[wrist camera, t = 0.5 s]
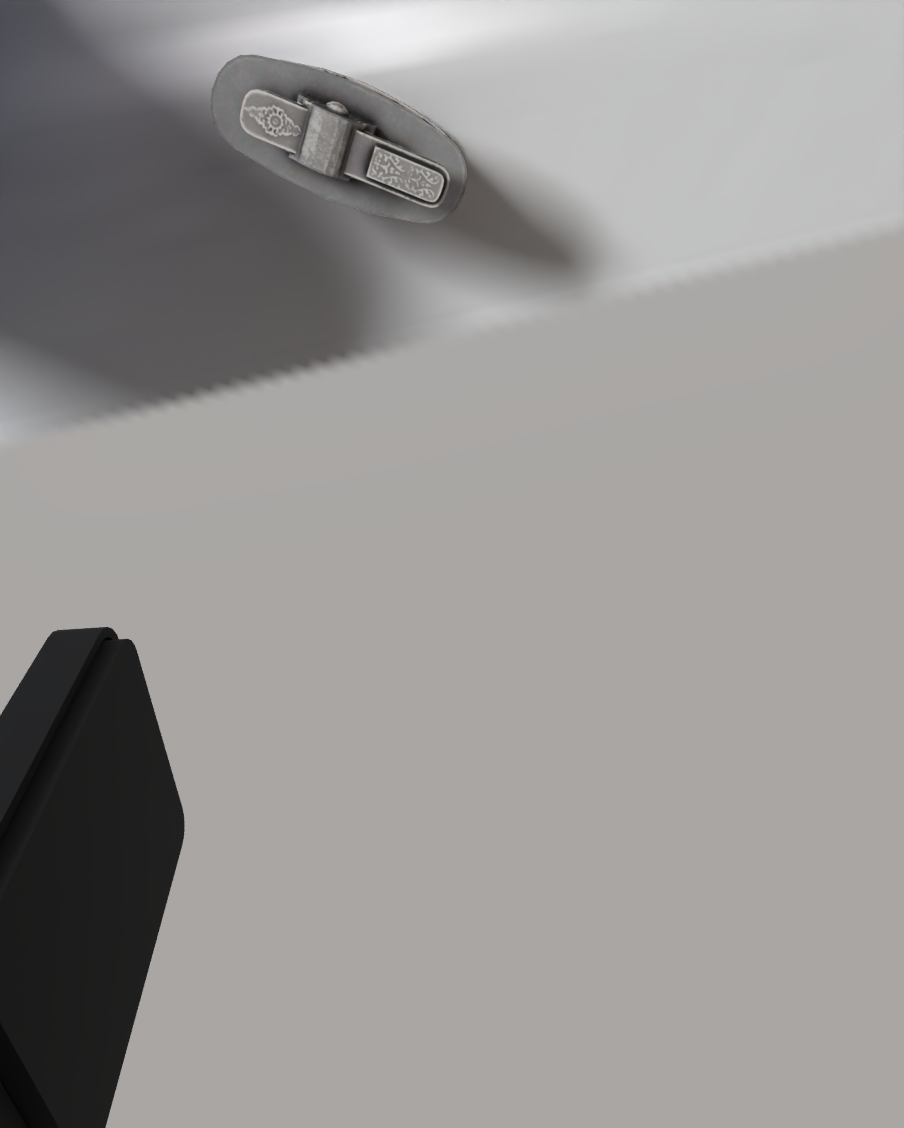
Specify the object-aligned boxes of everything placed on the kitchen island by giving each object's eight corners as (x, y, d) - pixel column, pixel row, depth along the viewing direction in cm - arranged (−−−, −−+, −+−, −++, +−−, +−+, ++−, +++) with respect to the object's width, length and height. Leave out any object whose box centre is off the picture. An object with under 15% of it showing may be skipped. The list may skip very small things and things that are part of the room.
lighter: (238, 134, 32) (181, 155, 23) (261, 37, 30) (208, 19, 21) (434, 214, 33) (449, 261, 25) (465, 126, 32) (492, 143, 23)
